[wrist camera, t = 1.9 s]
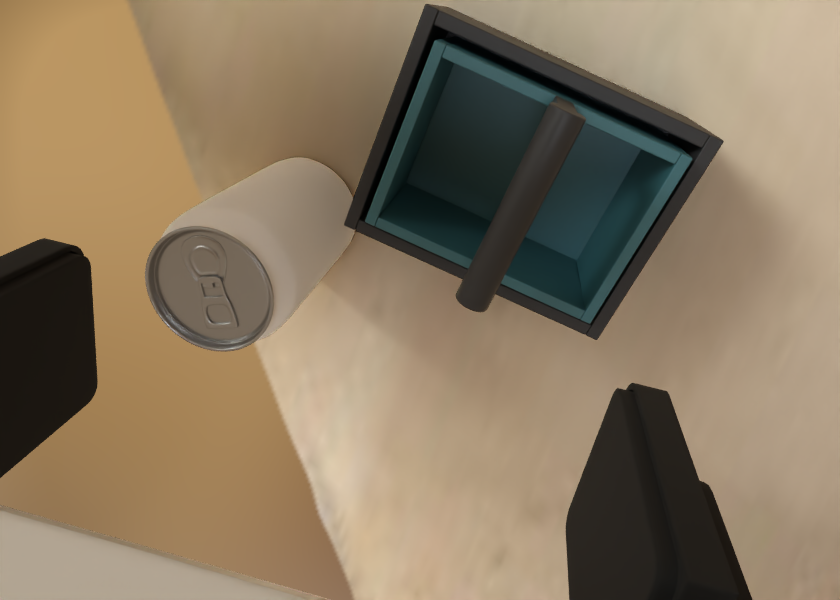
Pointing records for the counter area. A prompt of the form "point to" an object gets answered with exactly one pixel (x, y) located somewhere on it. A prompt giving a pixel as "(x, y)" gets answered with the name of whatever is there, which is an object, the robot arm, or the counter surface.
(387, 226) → the top bin
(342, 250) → the can
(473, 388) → the counter surface
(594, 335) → the lower bin
